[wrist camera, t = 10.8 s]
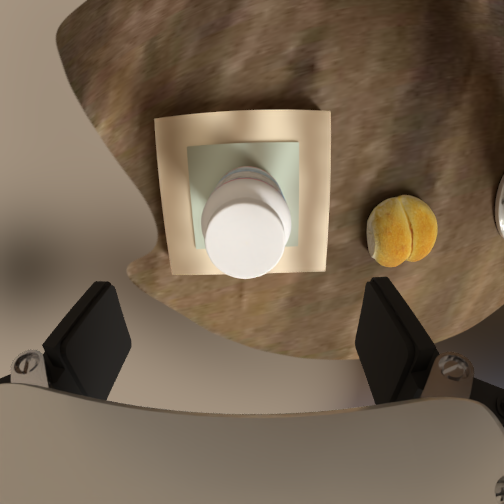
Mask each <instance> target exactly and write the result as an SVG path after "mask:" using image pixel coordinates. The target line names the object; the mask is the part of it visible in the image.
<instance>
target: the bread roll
mask: <svg viewBox="0 0 504 504" xmlns="http://www.w3.org/2000/svg"><path fill="white" fill-rule="evenodd" d="M436 236H437V221H436V218H435V215H434V214H433V212H432V210H431V209H430V208H429V206H428V205H427V204H426V203H424V202H423V201H422V200H420V199H419V198H416V197H413V196H410V195H401V196H398V197H392V198H389V199H386V200H384V201H383V202H381V203H380V204H378V205H377V206H376V207H375V208H374V209H373V211H372V212H371V214H370V216H369V218H368V220H367V243H368V250H369V253H370V256H371V257H373V258H374V259H375V260H376V261H377V262H378V263H379V264H380V265H383V266H386V267H396V266H398V265H399V264H401V263H402V262H404V261H405V260H407V261H412V262H415V261H419V260H421V259H422V258H424V257H425V256H426V255H427V254H428V253H429V252H430V251H431V249H432V247H433V245H434V243H435V240H436Z"/></svg>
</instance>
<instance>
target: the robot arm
mask: <svg viewBox="0 0 504 504" xmlns="http://www.w3.org/2000/svg"><path fill="white" fill-rule="evenodd" d="M495 220H496V226H497V229H498V231H499V233H500V235H501V236H502V238H503V239H504V175H503V177H502V179H501V182H500V184H499V187H498V191H497V195H496V201H495ZM42 346H43V348H44V350H45V352H44V354H42V353H41V352H40V351H37V350H28V351H25V352H22V353H21V354H19V355H18V356H17V357H16V358H15V359H14V360H13V362H12V364H11V374H10V375H8V376H5V377H3V378H0V504H504V389H502V388H499V387H496V386H494V385H491V384H489V383H486V382H484V381H481V380H479V379H476V378H474V368H473V365H472V363H471V362H470V361H469V360H468V359H467V358H466V357H465V356H463V355H461V354H459V353H454V352H445V353H442V354H439V352H438V351H437V349H436V347H435V345H434V343H433V342H432V340H431V339H430V337H429V335H428V334H427V332H426V331H425V329H424V328H423V326H422V325H421V323H420V322H419V320H418V319H417V318H416V316H415V315H414V313H413V312H412V310H411V309H410V307H409V306H408V305H407V303H406V302H405V300H404V299H403V297H402V296H401V295H400V293H399V292H398V291H397V289H396V288H395V286H394V285H393V284H392V282H391V281H390V280H389V278H388V277H373V278H372V279H371V281H370V282H367V283H366V287H365V293H364V298H363V304H362V309H361V314H360V319H359V324H358V329H357V334H356V339H355V346H356V350H357V353H358V355H359V358H360V361H361V364H362V366H363V369H364V372H365V375H366V378H367V381H368V384H369V386H370V389H371V392H372V395H373V398H374V401H375V404H376V405H372V406H364V407H357V408H348V409H339V410H329V411H318V412H305V413H286V414H220V413H219V414H218V413H200V412H186V411H175V410H167V409H158V408H150V407H142V406H135V405H129V404H123V403H117V402H112V401H106V400H107V397H108V395H109V393H110V391H111V389H112V387H113V384H114V382H115V380H116V378H117V376H118V374H119V372H120V370H121V367H122V365H123V363H124V361H125V359H126V357H127V355H128V353H129V351H130V349H131V338H130V335H129V332H128V329H127V326H126V323H125V320H124V317H123V314H122V310H121V307H120V303H119V300H118V296H117V293H116V289H115V287H114V286H113V285H111V283H110V282H102V281H99V282H97V281H96V282H94V283H93V284H92V286H91V287H90V288H89V289H88V290H87V291H86V292H85V294H84V295H83V296H82V297H81V298H80V299H79V301H78V302H77V303H76V304H75V305H74V306H73V307H72V309H71V310H70V311H69V312H68V313H67V315H66V316H65V317H64V318H63V319H62V321H61V322H60V323H59V324H58V326H57V327H56V328H55V329H54V331H53V332H52V333H51V334H50V336H49V337H48V338H47V339H46V341H45V342H44V343H43V345H42Z"/></svg>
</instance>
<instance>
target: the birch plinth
mask: <svg viewBox="0 0 504 504" xmlns="http://www.w3.org/2000/svg"><path fill="white" fill-rule="evenodd" d="M154 121H155V136H156V150H157V162H158V172H159V182H160V192H161V200H162V209H163V217H164V224H165V232H166V239H167V245H168V252H169V258H170V265H171V271H172V275H208V274H225V273H223V272H222V271H220V270H219V269H218V268H217V267H216V266H215V265H214V264H213V263H212V262H211V260H210V258H209V256H208V254H207V252H206V248H205V239H204V237H203V234H202V228H201V217H202V212H203V209H204V206H205V204H206V202H207V200H208V198H209V197H210V195H211V193H212V192H213V190H214V189H215V187H216V186H217V184H218V183H219V181H220V180H221V178H222V177H223V176H224V175H225V174H226V173H228V172H229V171H231V170H233V169H235V168H238V167H244V166H251V167H256V168H259V169H262V170H264V171H266V172H267V173H269V174H270V175H271V176H272V177H273V178H274V179H275V180H276V181H277V183H278V184H279V186H280V188H281V191H282V193H283V196H284V198H285V200H286V203H287V205H288V208H289V211H290V215H291V232H290V236H289V239H288V241H287V243H286V245H285V248H284V252H283V254H282V257H281V259H280V260H279V262H278V263H277V264H276V266H275V267H274V268H272V269H271V270H270V271H269V272H267V273H286V272H315V271H325V266H326V253H327V239H328V222H329V201H330V168H331V111H318V110H241V111H223V112H209V113H198V114H188V115H179V116H171V117H163V118H156V119H154Z"/></svg>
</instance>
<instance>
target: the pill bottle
mask: <svg viewBox="0 0 504 504" xmlns="http://www.w3.org/2000/svg"><path fill="white" fill-rule="evenodd" d="M201 228H202V234H203V237H204V239H205V248H206V252H207V254H208V256H209V258H210V260H211V262H212V263H213V264H214V265H215V266H216V267H217V268H218V269H219V270H220V271H222V272H223V273H225V274H227V275H229V276H232V277H235V278H242V279H249V278H255V277H259V276H261V275H263V274H265V273H267V272H269V271H270V270H271V269H272V268H274V267H275V266H276V264H277V263H278V262H279V260H280V259H281V257H282V254H283V252H284V248H285V245H286V243H287V241H288V239H289V236H290V232H291V215H290V211H289V208H288V205H287V203H286V200H285V198H284V196H283V193H282V191H281V188H280V186H279V184H278V183H277V181H276V180H275V179H274V178H273V177H272V176H271V175H270V174H269V173H267V172H266V171H264V170H262V169H259V168H256V167H251V166H244V167H238V168H235V169H233V170H231V171H229V172H228V173H226V174H225V175H224V176H223V177H222V178H221V180H220V181H219V183H218V184H217V186H216V187H215V189H214V190H213V192H212V193H211V195H210V197H209V198H208V200H207V202H206V204H205V206H204V209H203V212H202V217H201Z"/></svg>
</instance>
